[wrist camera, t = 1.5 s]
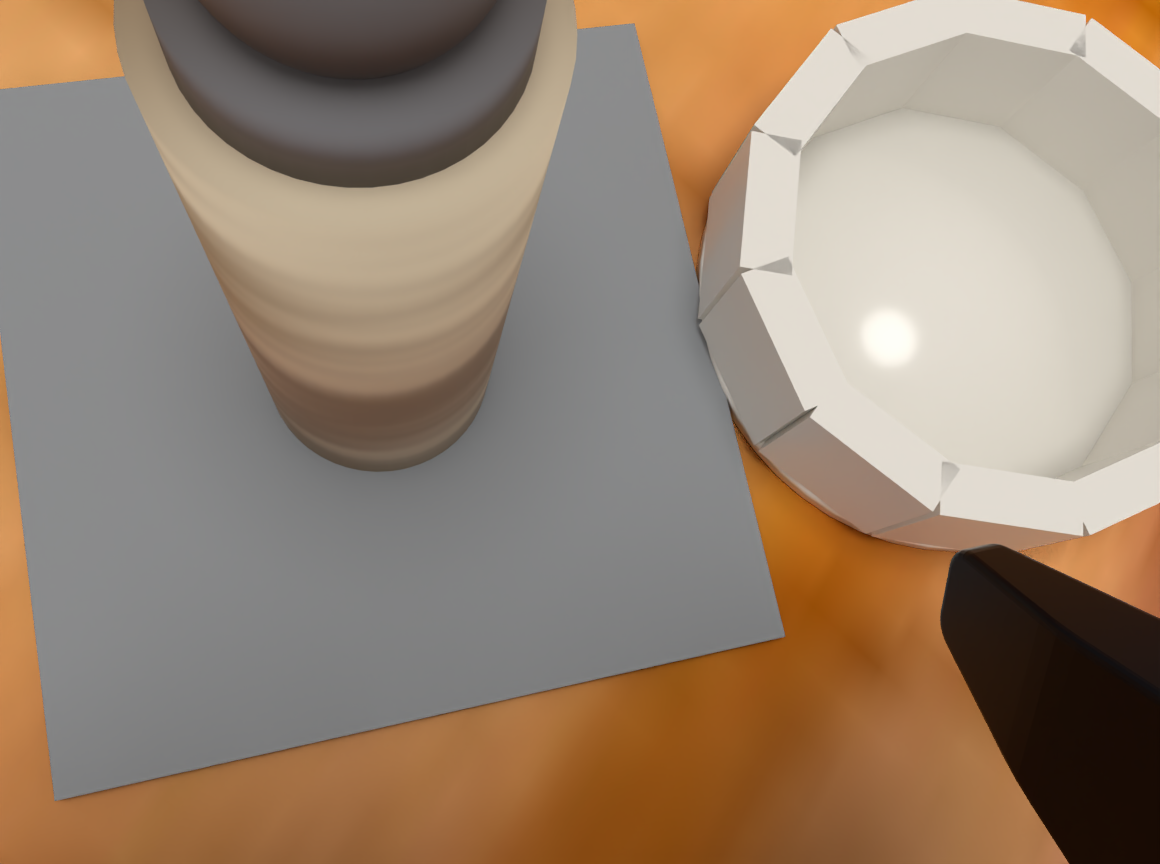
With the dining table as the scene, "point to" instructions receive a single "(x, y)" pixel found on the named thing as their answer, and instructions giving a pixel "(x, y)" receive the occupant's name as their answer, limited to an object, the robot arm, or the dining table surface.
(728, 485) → the felt mat
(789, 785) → the dining table surface
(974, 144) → the bowl
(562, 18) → the pepper mill
